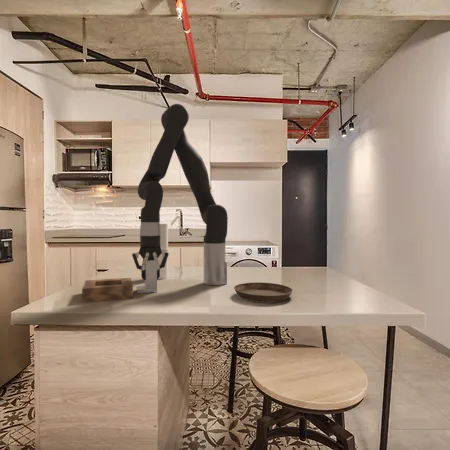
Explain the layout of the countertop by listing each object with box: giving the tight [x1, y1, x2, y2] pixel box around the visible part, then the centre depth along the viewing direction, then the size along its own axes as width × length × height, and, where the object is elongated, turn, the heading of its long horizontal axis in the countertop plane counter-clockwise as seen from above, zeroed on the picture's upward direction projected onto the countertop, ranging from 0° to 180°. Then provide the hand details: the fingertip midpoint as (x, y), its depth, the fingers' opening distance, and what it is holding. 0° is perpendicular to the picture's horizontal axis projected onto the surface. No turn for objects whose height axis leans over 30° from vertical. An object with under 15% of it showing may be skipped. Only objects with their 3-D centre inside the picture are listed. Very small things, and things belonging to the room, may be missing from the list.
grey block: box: [136, 260, 158, 294], centre depth 119 cm, size 7×6×12 cm
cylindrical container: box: [157, 222, 169, 280], centre depth 146 cm, size 7×7×25 cm
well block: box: [81, 277, 134, 303], centre depth 113 cm, size 16×14×4 cm
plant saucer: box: [233, 282, 294, 303], centre depth 112 cm, size 21×21×3 cm
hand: (150, 279), depth 120 cm, fingers closed on grey block, 4 cm apart
